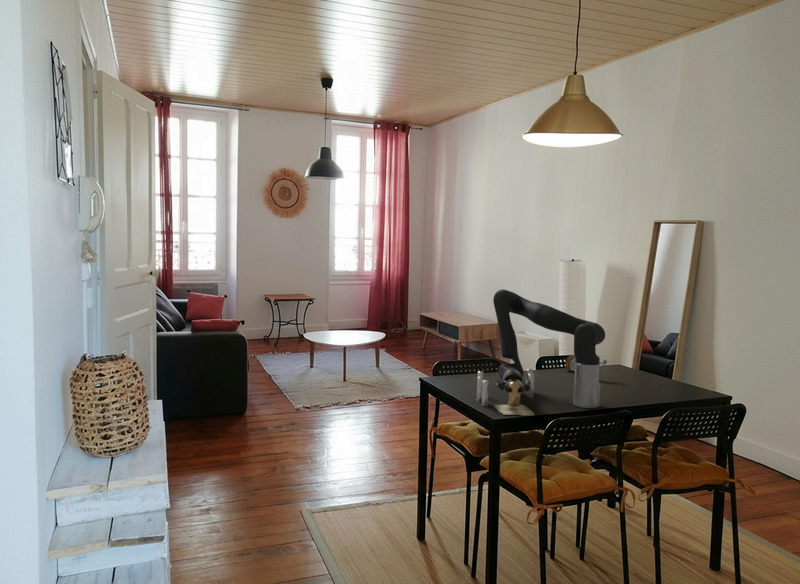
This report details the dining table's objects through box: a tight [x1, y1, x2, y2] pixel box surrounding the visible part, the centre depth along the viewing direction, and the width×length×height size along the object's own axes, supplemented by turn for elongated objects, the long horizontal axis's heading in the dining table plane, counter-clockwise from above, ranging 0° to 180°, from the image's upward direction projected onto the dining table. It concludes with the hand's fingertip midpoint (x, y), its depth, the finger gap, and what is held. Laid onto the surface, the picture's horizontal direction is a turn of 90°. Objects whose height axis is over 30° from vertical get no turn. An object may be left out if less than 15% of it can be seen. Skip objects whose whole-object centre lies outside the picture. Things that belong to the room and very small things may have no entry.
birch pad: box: [493, 404, 535, 416], centre depth 233 cm, size 12×12×1 cm
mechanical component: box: [599, 359, 608, 369], centre depth 292 cm, size 3×10×10 cm, turn 79°
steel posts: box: [476, 368, 535, 407], centre depth 251 cm, size 28×24×10 cm
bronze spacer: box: [507, 381, 521, 407], centre depth 232 cm, size 4×4×9 cm
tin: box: [564, 354, 576, 373], centre depth 311 cm, size 15×3×8 cm, turn 122°
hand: (515, 390), depth 229 cm, fingers closed on bronze spacer, 4 cm apart
